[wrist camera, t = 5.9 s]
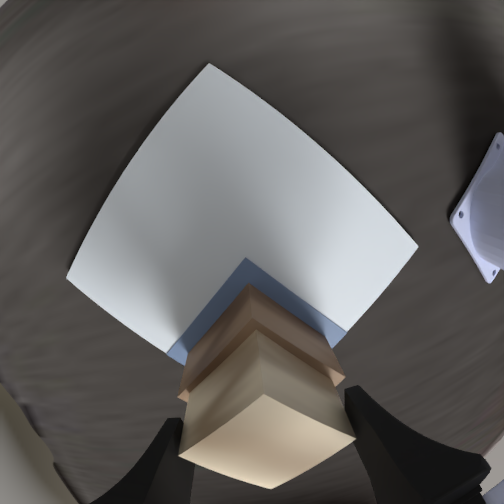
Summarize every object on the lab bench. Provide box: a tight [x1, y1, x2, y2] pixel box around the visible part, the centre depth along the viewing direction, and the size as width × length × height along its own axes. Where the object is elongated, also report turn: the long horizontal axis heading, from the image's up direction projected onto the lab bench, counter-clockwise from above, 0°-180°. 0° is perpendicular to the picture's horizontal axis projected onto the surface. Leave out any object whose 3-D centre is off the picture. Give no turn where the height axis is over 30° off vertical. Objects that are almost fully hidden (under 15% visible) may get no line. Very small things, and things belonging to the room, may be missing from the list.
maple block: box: [178, 330, 357, 489], centre depth 11 cm, size 5×5×4 cm
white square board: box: [66, 63, 418, 366], centre depth 16 cm, size 15×16×1 cm
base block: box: [178, 283, 345, 403], centre depth 15 cm, size 6×6×4 cm
